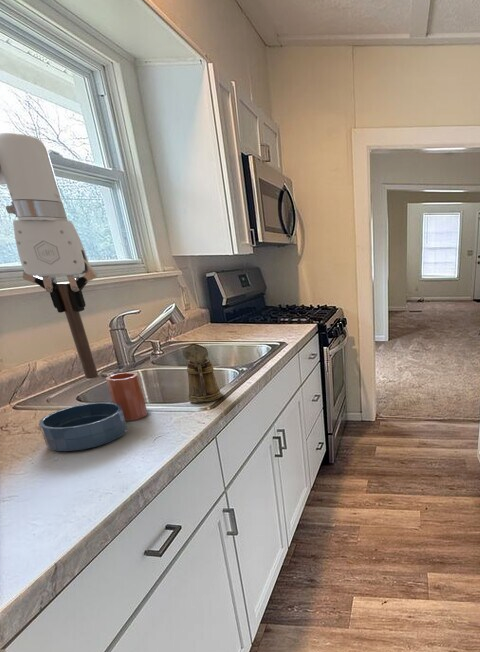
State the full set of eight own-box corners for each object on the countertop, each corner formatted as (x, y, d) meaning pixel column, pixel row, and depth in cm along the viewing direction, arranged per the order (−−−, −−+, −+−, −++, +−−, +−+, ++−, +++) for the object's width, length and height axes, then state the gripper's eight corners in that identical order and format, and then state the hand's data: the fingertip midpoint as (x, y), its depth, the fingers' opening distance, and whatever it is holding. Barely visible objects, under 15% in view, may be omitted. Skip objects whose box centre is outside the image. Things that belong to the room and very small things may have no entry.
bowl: (34, 458, 85) (24, 432, 82) (65, 428, 98) (57, 406, 96) (116, 448, 89) (109, 423, 86) (135, 421, 102) (129, 399, 100)
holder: (114, 422, 102) (102, 381, 97) (122, 412, 108) (111, 373, 103) (143, 419, 103) (133, 378, 99) (150, 409, 109) (140, 371, 105)
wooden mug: (187, 410, 109) (173, 345, 102) (189, 395, 120) (176, 335, 113) (222, 406, 112) (211, 342, 105) (220, 391, 123) (210, 332, 116)
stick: (83, 379, 88) (53, 283, 80) (88, 376, 90) (58, 282, 82) (96, 378, 89) (67, 283, 81) (100, 375, 91) (72, 282, 83)
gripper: (-22, 210, 71) (16, 316, 78) (82, 211, 75) (109, 311, 82) (1, 213, 78) (35, 310, 85) (96, 214, 82) (120, 307, 89)
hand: (71, 310), depth 84 cm, fingers closed on stick, 2 cm apart
